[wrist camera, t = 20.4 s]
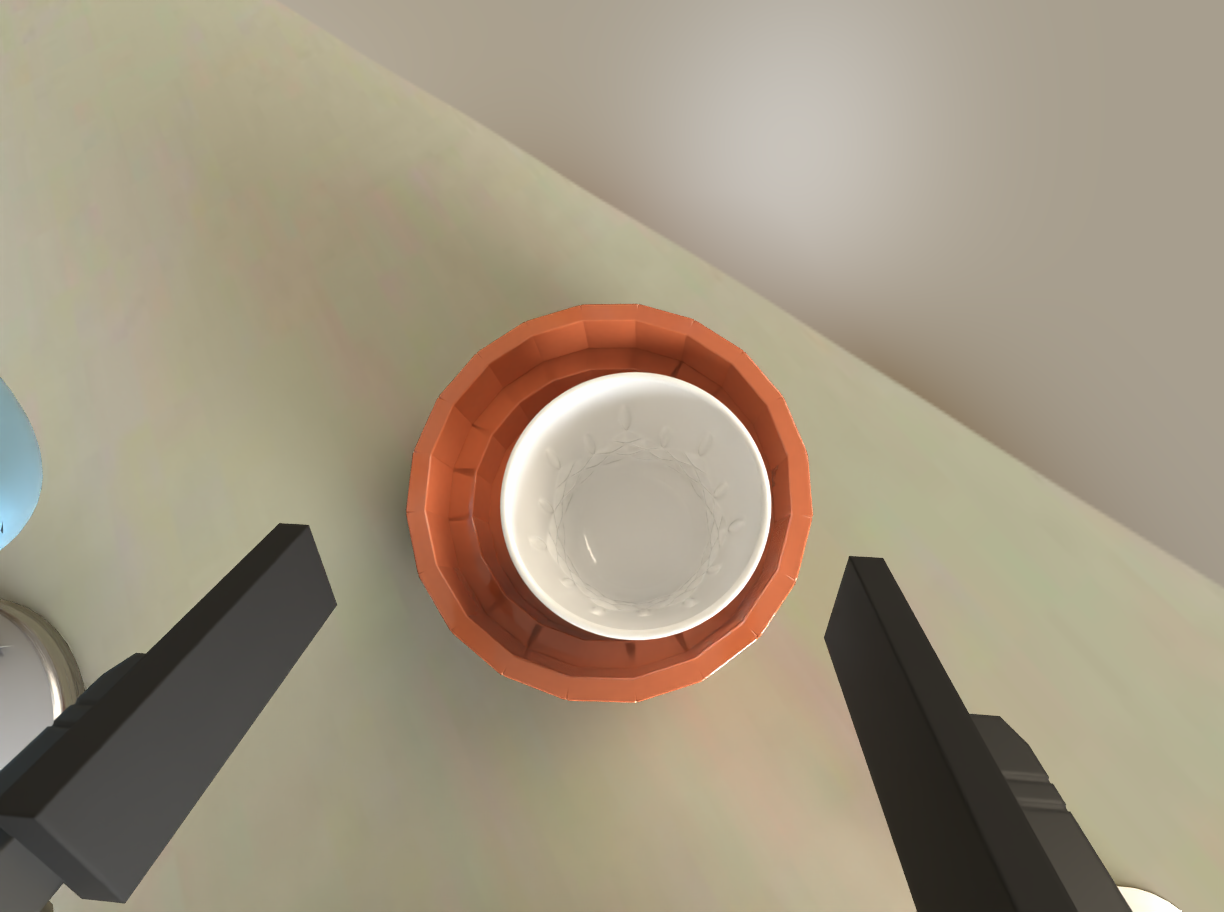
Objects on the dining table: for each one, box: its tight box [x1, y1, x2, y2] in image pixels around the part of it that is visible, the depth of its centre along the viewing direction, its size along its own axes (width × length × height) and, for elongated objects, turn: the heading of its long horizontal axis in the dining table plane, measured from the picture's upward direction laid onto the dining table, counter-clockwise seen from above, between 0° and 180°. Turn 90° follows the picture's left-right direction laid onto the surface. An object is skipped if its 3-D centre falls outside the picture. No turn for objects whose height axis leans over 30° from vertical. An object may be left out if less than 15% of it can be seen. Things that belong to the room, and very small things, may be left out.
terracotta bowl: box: [406, 304, 813, 703], centre depth 23 cm, size 16×16×6 cm
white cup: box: [500, 372, 771, 640], centre depth 20 cm, size 8×8×10 cm
